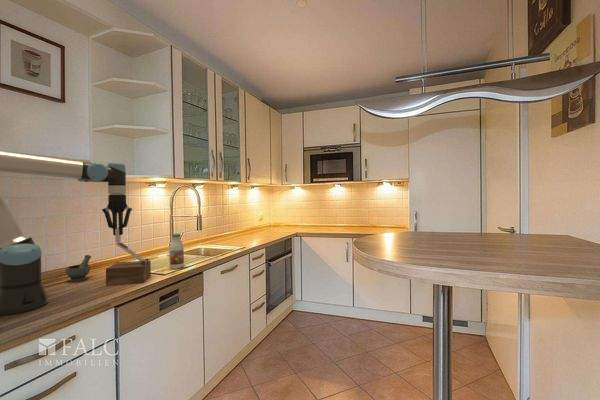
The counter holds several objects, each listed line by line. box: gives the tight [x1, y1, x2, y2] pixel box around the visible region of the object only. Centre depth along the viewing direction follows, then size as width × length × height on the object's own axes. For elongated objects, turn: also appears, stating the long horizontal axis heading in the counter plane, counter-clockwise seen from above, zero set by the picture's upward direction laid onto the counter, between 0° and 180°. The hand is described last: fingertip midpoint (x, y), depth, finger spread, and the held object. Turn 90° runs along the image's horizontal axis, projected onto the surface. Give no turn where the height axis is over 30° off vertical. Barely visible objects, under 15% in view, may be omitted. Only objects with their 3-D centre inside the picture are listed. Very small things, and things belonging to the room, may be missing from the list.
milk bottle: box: [168, 233, 185, 270], centre depth 168 cm, size 8×8×20 cm
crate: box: [105, 258, 152, 287], centre depth 143 cm, size 14×17×10 cm
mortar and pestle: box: [65, 254, 92, 283], centre depth 145 cm, size 11×9×12 cm
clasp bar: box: [115, 241, 147, 262], centre depth 144 cm, size 4×17×1 cm
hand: (118, 241), depth 142 cm, fingers closed
